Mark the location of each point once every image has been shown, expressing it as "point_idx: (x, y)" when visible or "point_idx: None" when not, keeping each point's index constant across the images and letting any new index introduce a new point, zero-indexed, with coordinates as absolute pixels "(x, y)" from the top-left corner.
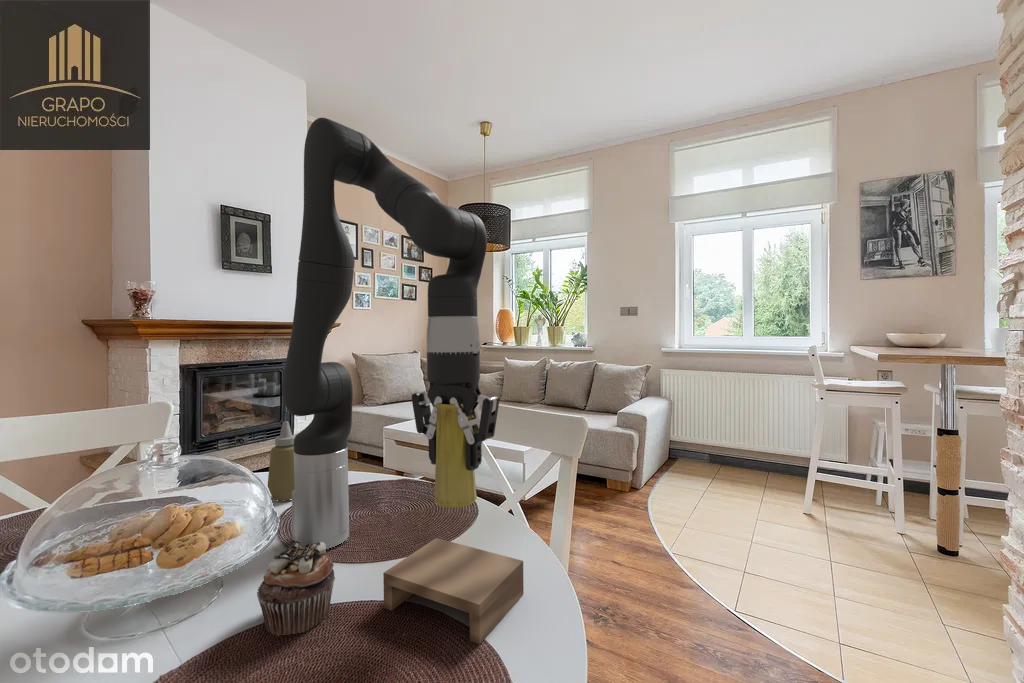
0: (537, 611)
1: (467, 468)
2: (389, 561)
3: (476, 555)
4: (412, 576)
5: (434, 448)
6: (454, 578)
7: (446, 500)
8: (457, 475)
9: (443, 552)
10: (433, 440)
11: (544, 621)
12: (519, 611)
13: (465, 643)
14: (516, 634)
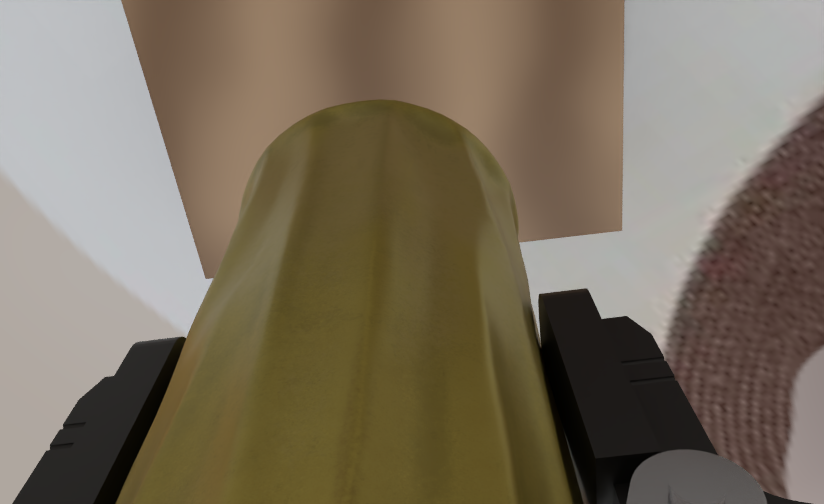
0: (140, 178)
1: (170, 340)
2: (794, 113)
3: None
4: None
5: (570, 385)
6: (322, 30)
7: (331, 126)
8: (235, 252)
9: (509, 158)
10: (611, 454)
11: (90, 150)
12: None
13: None
14: (107, 48)
